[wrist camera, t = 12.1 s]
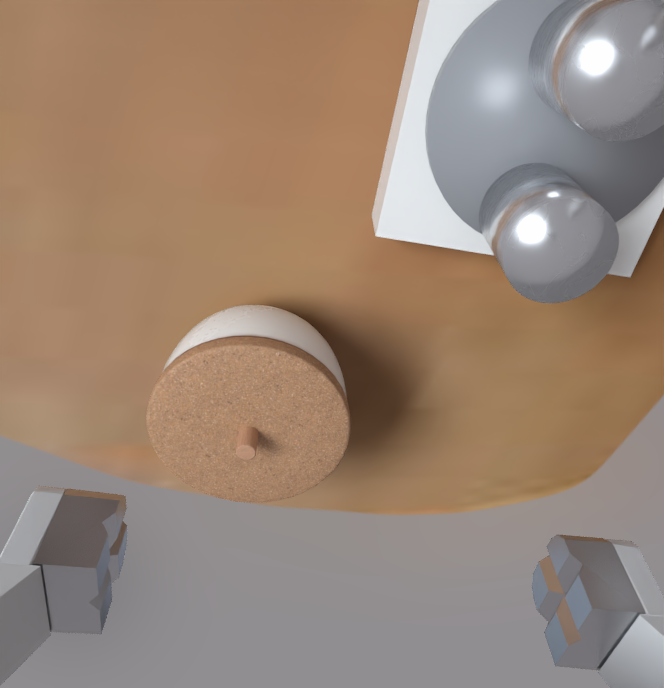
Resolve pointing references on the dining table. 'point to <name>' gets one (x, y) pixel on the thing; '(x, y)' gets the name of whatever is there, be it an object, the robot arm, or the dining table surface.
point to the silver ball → (603, 66)
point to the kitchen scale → (496, 133)
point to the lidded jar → (250, 406)
